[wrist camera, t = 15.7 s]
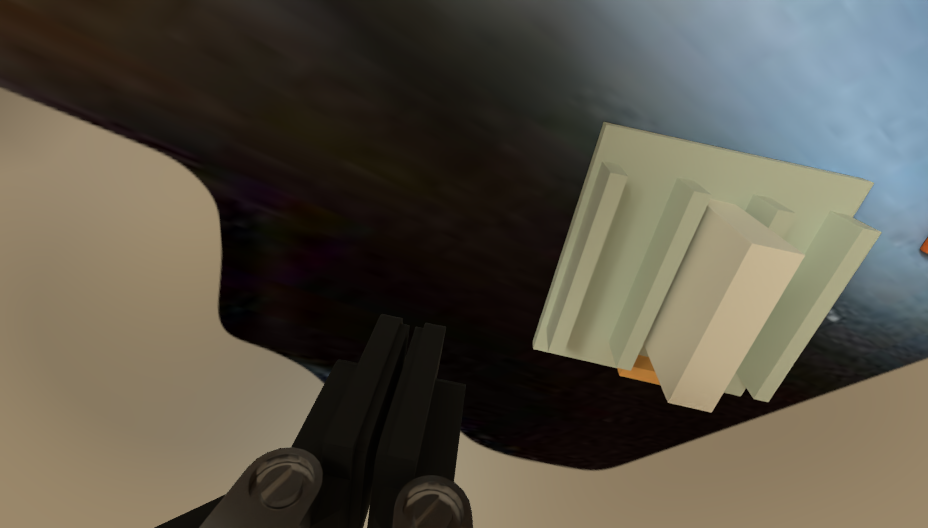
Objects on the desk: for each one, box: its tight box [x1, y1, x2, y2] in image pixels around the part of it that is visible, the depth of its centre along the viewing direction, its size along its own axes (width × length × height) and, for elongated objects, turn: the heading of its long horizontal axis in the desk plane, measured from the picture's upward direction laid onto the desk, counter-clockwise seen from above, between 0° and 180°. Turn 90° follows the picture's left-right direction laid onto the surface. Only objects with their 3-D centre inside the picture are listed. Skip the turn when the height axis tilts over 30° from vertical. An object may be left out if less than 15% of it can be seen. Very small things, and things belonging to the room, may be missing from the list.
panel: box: [644, 199, 805, 413], centre depth 32 cm, size 12×3×9 cm, turn 169°
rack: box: [533, 122, 882, 402], centre depth 35 cm, size 20×19×5 cm
